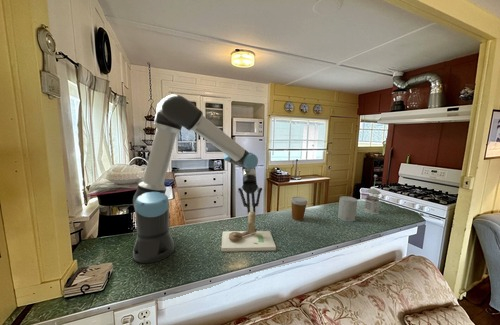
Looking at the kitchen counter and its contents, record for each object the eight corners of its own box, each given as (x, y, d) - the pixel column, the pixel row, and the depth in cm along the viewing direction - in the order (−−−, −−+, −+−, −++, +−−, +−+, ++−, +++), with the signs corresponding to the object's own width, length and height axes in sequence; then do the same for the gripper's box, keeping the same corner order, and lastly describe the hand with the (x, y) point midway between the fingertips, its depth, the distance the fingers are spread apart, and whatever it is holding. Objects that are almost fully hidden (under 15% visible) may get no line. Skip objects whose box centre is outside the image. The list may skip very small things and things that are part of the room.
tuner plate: (221, 251, 83) (221, 247, 83) (222, 234, 97) (222, 231, 97) (275, 250, 86) (275, 246, 85) (269, 233, 99) (269, 230, 99)
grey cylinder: (334, 217, 121) (336, 198, 119) (341, 213, 128) (343, 195, 126) (351, 223, 114) (353, 202, 112) (357, 218, 121) (360, 199, 119)
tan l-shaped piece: (232, 242, 86) (233, 220, 85) (226, 236, 91) (226, 215, 90) (260, 234, 94) (261, 213, 93) (253, 228, 99) (254, 209, 98)
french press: (372, 208, 138) (377, 173, 134) (385, 215, 127) (390, 177, 123) (359, 208, 137) (363, 172, 134) (370, 215, 126) (375, 176, 122)
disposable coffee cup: (306, 223, 112) (308, 202, 111) (289, 221, 114) (290, 200, 112) (305, 216, 122) (307, 197, 120) (289, 214, 124) (290, 195, 122)
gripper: (237, 174, 107) (238, 217, 93) (262, 174, 108) (266, 216, 95) (237, 181, 113) (238, 222, 100) (260, 180, 114) (264, 222, 101)
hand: (251, 219), depth 97 cm, fingers closed
